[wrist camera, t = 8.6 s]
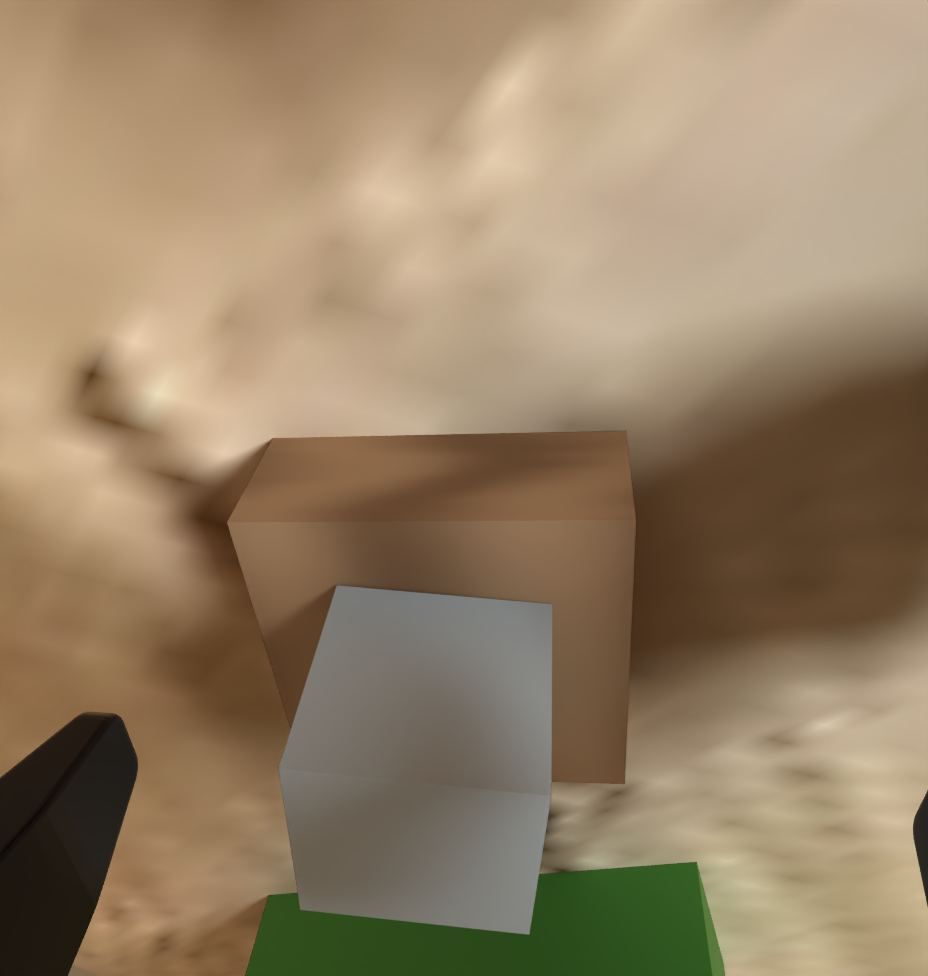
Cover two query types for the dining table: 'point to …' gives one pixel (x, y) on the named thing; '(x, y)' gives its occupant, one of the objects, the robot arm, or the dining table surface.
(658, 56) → the dining table surface
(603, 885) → the hardback book
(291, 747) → the slate cube
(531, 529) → the walnut block
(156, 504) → the dining table surface
